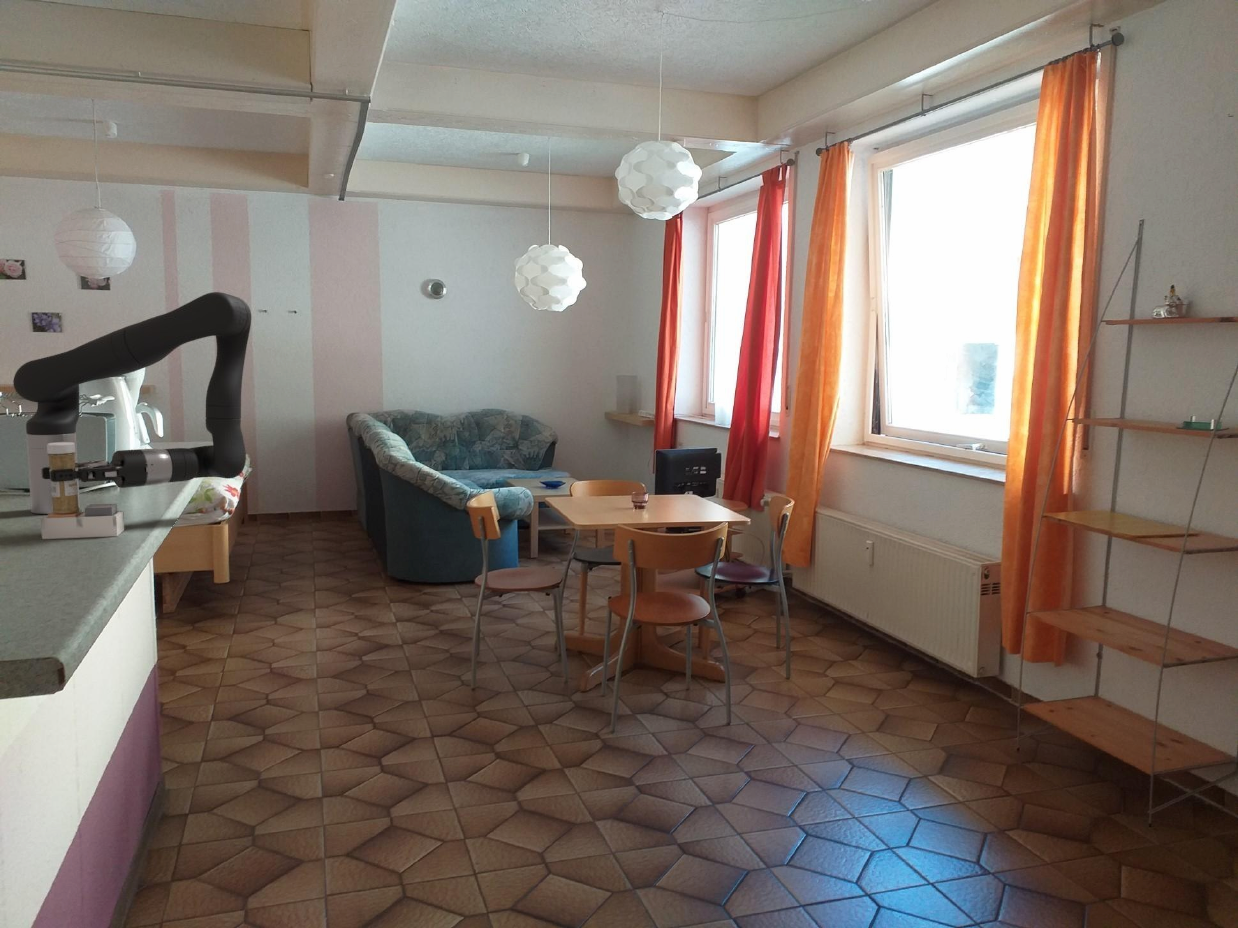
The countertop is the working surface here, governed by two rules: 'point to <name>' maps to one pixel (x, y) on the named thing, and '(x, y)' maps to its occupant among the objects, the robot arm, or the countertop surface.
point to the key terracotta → (65, 515)
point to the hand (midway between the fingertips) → (46, 474)
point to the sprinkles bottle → (63, 490)
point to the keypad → (82, 526)
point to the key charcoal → (101, 510)
